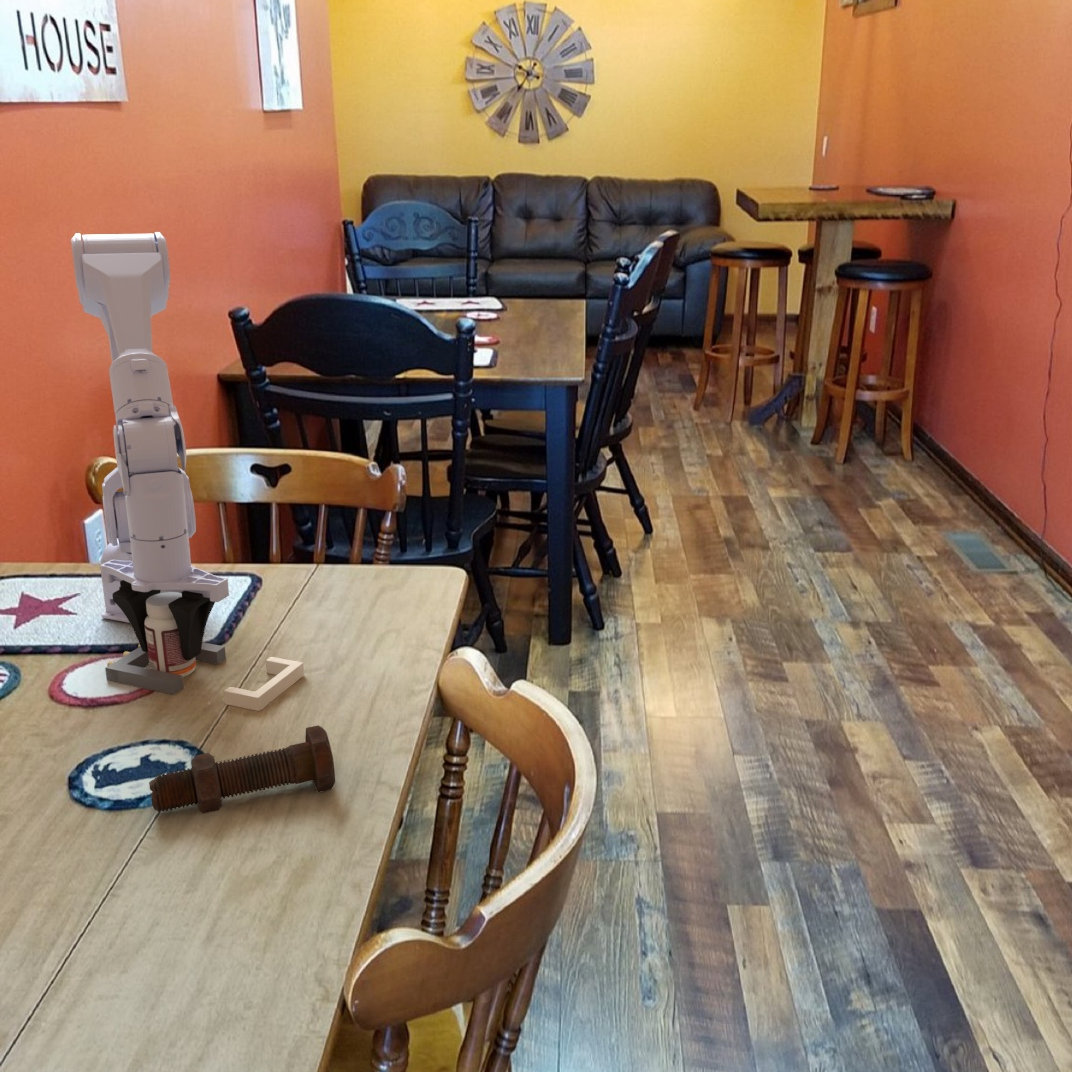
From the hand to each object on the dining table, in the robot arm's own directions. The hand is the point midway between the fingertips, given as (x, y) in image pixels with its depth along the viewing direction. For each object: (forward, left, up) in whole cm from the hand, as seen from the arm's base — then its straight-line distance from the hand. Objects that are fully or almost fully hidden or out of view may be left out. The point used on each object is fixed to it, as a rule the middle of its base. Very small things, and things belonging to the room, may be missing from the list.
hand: (171, 652), depth 119 cm
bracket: (+12, 0, -2) cm, 12 cm away
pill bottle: (0, 0, -2) cm, 2 cm away
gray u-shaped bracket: (-1, 0, -2) cm, 3 cm away
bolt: (+21, -18, -3) cm, 27 cm away
